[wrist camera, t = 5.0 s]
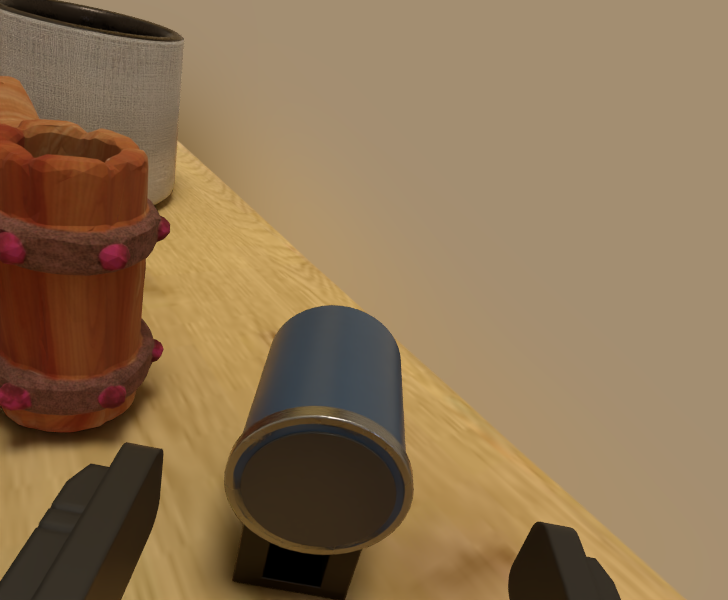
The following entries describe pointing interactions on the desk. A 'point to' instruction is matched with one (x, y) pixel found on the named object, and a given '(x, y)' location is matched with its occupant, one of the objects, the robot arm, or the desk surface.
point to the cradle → (293, 568)
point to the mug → (71, 269)
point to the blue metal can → (324, 437)
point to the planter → (99, 75)
